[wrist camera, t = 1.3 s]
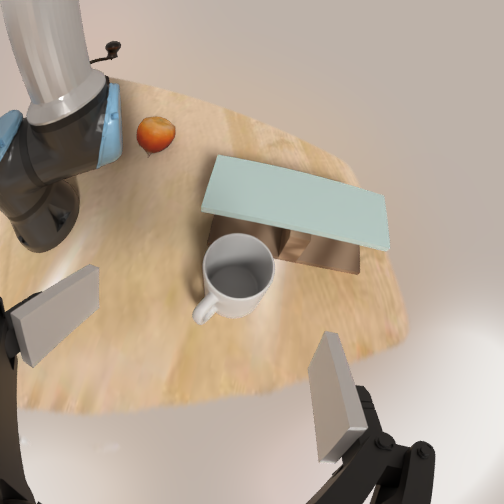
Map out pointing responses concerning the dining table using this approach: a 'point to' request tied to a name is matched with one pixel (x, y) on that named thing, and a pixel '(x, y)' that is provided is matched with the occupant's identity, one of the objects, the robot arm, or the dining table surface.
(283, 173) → the plank
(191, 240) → the dining table surface
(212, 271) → the mug
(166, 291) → the dining table surface
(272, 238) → the fulcrum stand
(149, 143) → the fruit
